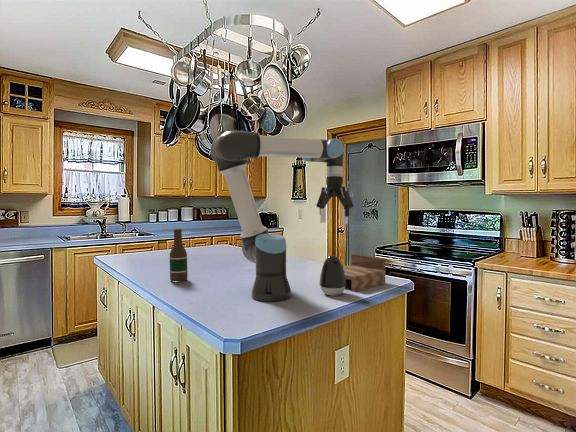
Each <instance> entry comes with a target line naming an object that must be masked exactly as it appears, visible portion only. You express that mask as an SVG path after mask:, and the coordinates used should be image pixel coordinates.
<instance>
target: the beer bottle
mask: <svg viewBox="0 0 576 432" xmlns="http://www.w3.org/2000/svg"><path fill="white" fill-rule="evenodd" d="M182 232H183V229H181V228H174V229H173V247H172V248H171V250H170V252H169V278H170V280H171V281H184V282H186V281H188V273H189V272H188V253H187V251H186V250H187V249H186V248H185V247H184V245H183V238H182ZM185 280H186V281H185ZM171 281H170V282H171Z"/></svg>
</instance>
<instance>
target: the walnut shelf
mask: <svg viewBox="0 0 576 432" xmlns="http://www.w3.org/2000/svg"><path fill="white" fill-rule="evenodd" d="M342 266H343V270H344V274H345V279H346V281H347V280H351V281H350V282H351V286H350V287H351V292H353V293H354V292H359V291H362V290H367V289H370V288H375V287H378V286H382V285H386V258H383V257H378V256H377V257H375V256H371V255H363V254H362V255H361V254H356V253H351V264H348V265H342Z"/></svg>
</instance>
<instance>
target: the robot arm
mask: <svg viewBox="0 0 576 432" xmlns="http://www.w3.org/2000/svg"><path fill="white" fill-rule="evenodd" d="M344 150H345V148H344V143H343V142H342V141H341V139H339V138H330V139H319V138H305V137H304V138H303V137H289V136H288V137H287V136H275V135H274V136H272V135H261V134H260V133H259V132H258V131H257V132H253V131H244V130H237V129H236V130H227V131H225V132H223V133H222V134H221V135H220V136H217V137H216V138H215V139H214V140H213V141H212V144H211V146H210V151H209V152H210V156H211V159H212V160H213V162H214V163H215V164H216V166H217V170H218V173H219V174H221V175H223V176H224V179H225V182H226V185H227V189H228V191H229V194H230V198H231V200H232V204H233V206H234V209H235V213H236V216H237V219H238V222H239V226H240V227H241V228H240V229H241V231H242V232H241V234H240V235H239V237H240V242H241V251H242V254H243V256H244V257H245V259H246V260H247V261H249V262H252V263H253V264H255V278H254V279H255V280H254V282H253V286H252V289H251V298H252V299H253V300H256V301H259V302H281V301H286V300H287V299H290V298H291V297H292V289H291V286H290V285H291V284H290V283H289V281H288V276H287V243H286V242H287V241H286V238H285V237H284V236H283V235H281V234H278V233H277V234H275V233H269V230H268V227H266V226H264V225H263V223H262V219H261V217H260V214H259V209H258V207H257V203H256V201H255V198H254V195H253V191H252V189H251V188H252V187H251V183H250V182H249V179H248V175H247V172H246V168H247V165H248V163H247V160H248V159H249V160H250V159H254V160H257V159H259V158H260V157H271V158H272V157H275V158H299V159H300V158H301V159H302V160H303V161H304V162H309V163H326V167H325V169H326V170H325V175H326V177H325V184H326V187H323V186H322V187H321V192H320V194H319V197H318V200H317V203H316V208H318V209H319V216H320V217H319V219H320V222H319V223H321V224H323V223H326V219H327V218H326V217H327V215H326V214H327V213H326V212H327V211H326V210H327V208H326V206H327V205H328V203H329V201H330V200H331V198H337V199H338V200H339V202H340V203H341V205H342V207H343V209H342V225H348V224H349V216H350V209H353V208H354V204H353V201H352V198H351V196H350V194H349V187H348V186H342V185H344V177H343V175H344V153H345V152H344Z"/></svg>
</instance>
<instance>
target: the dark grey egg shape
mask: <svg viewBox="0 0 576 432" xmlns="http://www.w3.org/2000/svg"><path fill="white" fill-rule="evenodd" d="M343 266H344V265H343V264H342V262H341V259H340V258H339V257H338V256H336V255H334V254H332V255H328V256H327V257H326V258H325V260H324V262H323V265H322V267H321V270H320V271H321V272H320V275H319V276H320V277H319V286H320V289H321V291H322V293H323V294H324V295H327V296H330V297H331V296H333V297H336V296H339V295H340V296H341V294H343V293H344V291H345V288H346V286H347V280H346V279H345V274H344V270H343Z"/></svg>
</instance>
